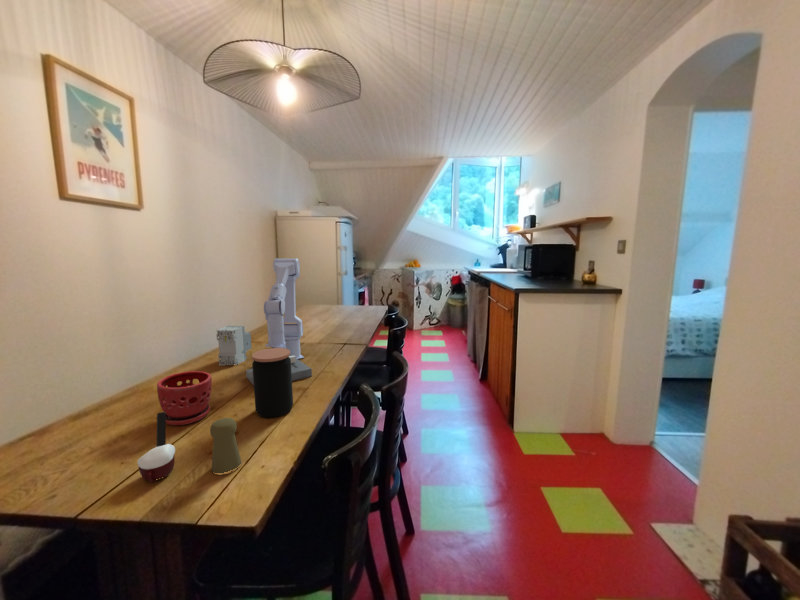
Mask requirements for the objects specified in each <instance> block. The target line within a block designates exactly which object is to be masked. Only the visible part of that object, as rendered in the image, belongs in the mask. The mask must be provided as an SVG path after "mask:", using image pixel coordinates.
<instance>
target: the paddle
mask: <svg viewBox="0 0 800 600" xmlns="http://www.w3.org/2000/svg"><path fill="white" fill-rule="evenodd" d="M289 357H290V359H291V363H295V362H296V356H289Z"/></svg>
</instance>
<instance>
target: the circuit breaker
mask: <svg viewBox="0 0 800 600" xmlns="http://www.w3.org/2000/svg"><path fill="white" fill-rule="evenodd" d="M251 334H252V333H251V331H246V328H245V326H244V325H243V326H242V325H226V326H224V327H221V328H219V329H216V335H215V336H216V341H217V342H218V352H219V353H218V355H217V357H218V358H217V360H218V362H219V364H218V366H225V365H234V364H235V365H237V364H238V365H240V364H241V362H242V363H244V362H245V361H247V360H248V359H247V358H248V357H247V351H249V350H251V349H252V335H251ZM246 359H247V360H246ZM239 363H240V364H239ZM238 365H237V366H238Z"/></svg>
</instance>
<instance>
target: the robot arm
mask: <svg viewBox="0 0 800 600" xmlns="http://www.w3.org/2000/svg"><path fill="white" fill-rule="evenodd" d="M272 266H273V271H274V273H275V276H276V277H275V283H274V284H273V285H272V286H271V288H270V292H269V295H268V297H267V300H266V301H264V303H263V313H264V315H265V320H266V324H267V339H268V341H267V342H268V343H265V345H264V346H265V347H268V348H267V349H269V348H284V349H288V350H290V356H296V359H298V360H301V359H304V358H305V356H304V355H303V354H301V338H302V337H303V334H304V326H303V325H304V324H303V321H302V320H303V319H301V318H300V317H299V316H297V309H296V308H297V305H296V303H297V302H296V297H297V296H296V281H297V279H299V278H300V274H301V267H300V266H301V264H300V260H299V258H297V257H295V258H277V257H275V258H274V260H273V263H272Z"/></svg>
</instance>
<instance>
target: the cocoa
mask: <svg viewBox="0 0 800 600" xmlns="http://www.w3.org/2000/svg"><path fill="white" fill-rule="evenodd" d="M166 424H167V423H166V413H165V412H164V411H163V412H162V411H161V412H157V413H156V446H155V447H154V448H152V449H150V450H148V451H147V452H146V453H145V454H143V455H142V456H140V457H139V458H137V459H138V460H137V466H138V471H139V473H140V476H141V477H142V478H143V479H144V480H145V481H147V480H148V481H147V482H150V483H152V482H153V481H154V482H156V481H155V480H156V479H159V478H162V477H164V478H166V477H167V476H169V475H168V474H171V472H172V471H173V470H174V467H175V466H174V465H175V453H176V447H175V445H172V444H171V443H166V435H167V433H166V431H167V429H166V428H167V427H166V426H167V425H166ZM166 475H167V476H166ZM165 476H166V477H165ZM154 482H153V483H154Z"/></svg>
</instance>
